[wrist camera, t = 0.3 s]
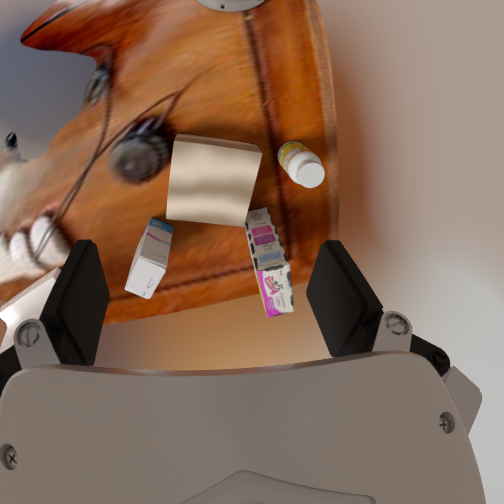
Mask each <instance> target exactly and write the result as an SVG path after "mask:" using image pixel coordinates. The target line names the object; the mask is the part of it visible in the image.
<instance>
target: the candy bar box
mask: <svg viewBox="0 0 504 504" xmlns="http://www.w3.org/2000/svg"><path fill="white" fill-rule="evenodd" d="M245 229H246V234H247V239H248V244H249V248H250V253H251V257H252V262H253V266H254V270H255V274H256V278H257V282H258V286H259V290H260V294H261V297H262V301H263V305H264V309H265V313H266V316H267V318H268V317H273V316H277V315H280V314H284V313H289V312H293V311H294V306H293V293H292V282H291V273H290V265H289V262H288V260H287V257H286V254H285V252H284V249H283V247H282V244H281V242H280V239H279V236H278V234H277V231H276V229H275V226H274V224H273V221H272V219H271V216H270V214H269V211H268V209H267V207H263V208H259V209H254V210H249V211H248V212H247V216H246V220H245Z"/></svg>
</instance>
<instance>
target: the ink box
mask: <svg viewBox="0 0 504 504" xmlns="http://www.w3.org/2000/svg"><path fill="white" fill-rule="evenodd" d="M173 228H174V227H173V226H171V225H169V224H166V223H164V222H162V221H159V220H157V219H154V218H151V219H150V221H149V223H148V225H147V227H146V230H145V232H144V234H143V236H142V238H141V240H140V243H139V245H138V247H137V249H136V252H135V256H134V259H133V262H132V265H131V269H130V272H129V276H128V279H127V283H126V286H125V290H126V291H129V292H132V293H134V294H137V295H139V296H141V297H144V298H146V299H150V298H151V296H152V294H153V292H154V290H155V289H156V287H157V285H158V283H159V282H160V280H161V278H162V276H163V275H164V273H165V272H166V271H165V269H166V268H167V263H168V257H169V251H170V244H171V238H172V233H173Z"/></svg>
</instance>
